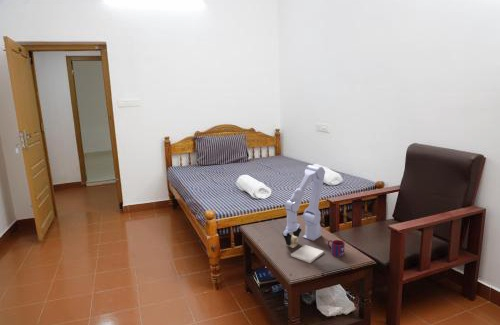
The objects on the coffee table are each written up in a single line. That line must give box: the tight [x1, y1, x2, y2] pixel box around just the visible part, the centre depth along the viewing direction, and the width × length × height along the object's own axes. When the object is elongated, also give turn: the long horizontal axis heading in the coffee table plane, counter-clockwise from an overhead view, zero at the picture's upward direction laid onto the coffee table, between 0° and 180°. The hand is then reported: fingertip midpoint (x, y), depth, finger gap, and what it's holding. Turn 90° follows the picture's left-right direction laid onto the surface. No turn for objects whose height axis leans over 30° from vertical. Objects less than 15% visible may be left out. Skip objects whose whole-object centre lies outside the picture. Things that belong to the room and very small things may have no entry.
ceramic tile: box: [290, 244, 325, 264], centre depth 184 cm, size 14×12×1 cm
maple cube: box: [285, 234, 299, 249], centre depth 195 cm, size 5×5×5 cm
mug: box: [327, 239, 346, 258], centre depth 184 cm, size 7×10×7 cm
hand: (292, 242), depth 195 cm, fingers open, 7 cm apart
